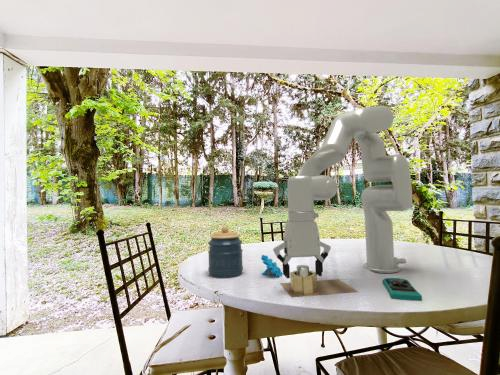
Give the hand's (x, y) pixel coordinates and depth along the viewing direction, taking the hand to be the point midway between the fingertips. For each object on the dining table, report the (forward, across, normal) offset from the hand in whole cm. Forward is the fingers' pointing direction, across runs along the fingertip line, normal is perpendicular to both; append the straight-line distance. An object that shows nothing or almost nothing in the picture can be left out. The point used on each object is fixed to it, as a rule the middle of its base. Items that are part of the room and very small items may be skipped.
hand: (303, 276), depth 83 cm
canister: (+5, +21, -27) cm, 35 cm away
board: (+5, -5, -2) cm, 7 cm away
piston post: (+5, 0, 0) cm, 5 cm away
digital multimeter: (+6, -26, +6) cm, 28 cm away
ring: (+4, 0, 0) cm, 4 cm away
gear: (+5, +5, -20) cm, 21 cm away
